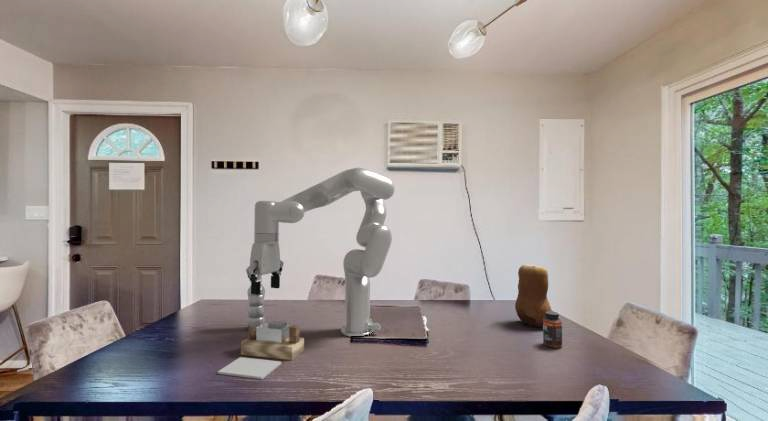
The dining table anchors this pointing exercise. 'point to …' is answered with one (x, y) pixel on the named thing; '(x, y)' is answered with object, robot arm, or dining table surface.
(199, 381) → the dining table surface
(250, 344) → the wooden peg stand
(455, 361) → the dining table surface
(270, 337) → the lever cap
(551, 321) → the supplement bottle
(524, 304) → the butternut squash
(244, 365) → the mat
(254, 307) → the plastic bottle
